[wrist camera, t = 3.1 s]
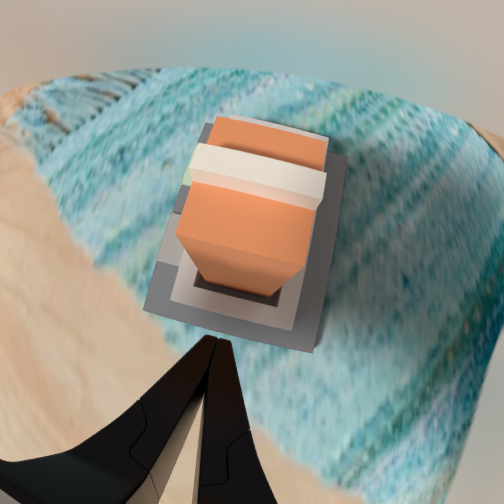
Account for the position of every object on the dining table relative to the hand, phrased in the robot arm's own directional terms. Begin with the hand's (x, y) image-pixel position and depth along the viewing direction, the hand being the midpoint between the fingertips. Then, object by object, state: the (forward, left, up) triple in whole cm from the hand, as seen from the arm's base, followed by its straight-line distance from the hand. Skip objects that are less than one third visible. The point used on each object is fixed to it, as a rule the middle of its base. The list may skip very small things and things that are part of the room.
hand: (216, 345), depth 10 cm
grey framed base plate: (+6, -3, -8) cm, 11 cm away
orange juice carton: (+4, -2, -8) cm, 9 cm away
